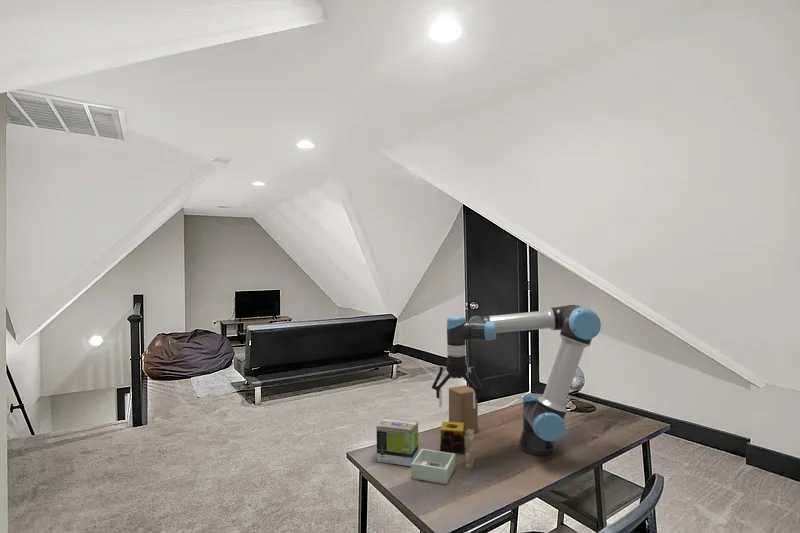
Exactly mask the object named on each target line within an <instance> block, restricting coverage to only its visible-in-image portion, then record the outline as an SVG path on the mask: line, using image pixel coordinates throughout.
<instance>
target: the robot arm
mask: <svg viewBox="0 0 800 533" xmlns="http://www.w3.org/2000/svg"><path fill="white" fill-rule="evenodd" d="M601 323H602V322H601V318H600V317H599V315H598V314H597V313H596V312H595V311H594V310H592V309H590V308H588V307H586V306H585V307H583V306H581V305H576V304H567V305H562V306H561V305H560V306H554V307H548V309H547V310H541V311H540V310H539V311H538V310H537V311H530V312H529V311H528V312H518V313H517V312H515V313H507V314H497V315H495V314H494V315H488V316H486V315H484V316H480V315H474V316H472V317H470V319H469V321H467V319H466V317H465V316H462V315H451V316H449V317H447V320H446V342H447V345H446V346H447V347H446V352H447V357H446V358H447V359H446V360H447V364H446V366H443V365H440V366H439V371H438V374H437V376H436V377H435V379H434V381H433V384H432V386H431V388H432V390H435V391H436V392H435V393H436V394H435V395H436V399H438V403H439V404H438V406H439V407H438V408H442V404H443V402H442V401H443V400H442V399H443V398H442V396H443V394H442V388H443V386H444V385H445V384H446V383H447V382H448V380H450V379H451V378H452V379H462V378H463V380H465V382H466V383H468V385H469V387H470V388H473V409H475V400H479V392H482V391H483V390H484V389H483V386H482V384H481V382H480V380H479V378H478V376H477V374H476V372H475V367H474V366H472V365H471V366H469V367H467V355H466V354H467V341H493V340H496V339H497V338H496V337H497V334H498V333H500V334H501V333H510V332H519V331H534V330H544V329H550V330H551V331H560V333H559V336H560V338H561V343H560V345H559V347H558V351H557V354H556V356H555V360H554V362H553V364H552V365H553V366H552V368H551V370H550V374H549V376H548V380H547V383H546V385H545V388H544V391H543V393H526V394H524V395H523V397H522V431H521V434H520V436H519V439H518V440H519V441H518V448H519V449H520V451H522V452H524V453H526V454H528V455H529V454H530V455H534V456H541V457H542V456H550V455H553V454H555V453H556V451H557V447H556V443H555V441H556V440H560V438H562V436H563V435H564V433H565V431H566V424H565V417H566V413H567V411H568V410H567V408H566V406H565V404H566V402H567V398H568V395H569V393H570V390H571V387H572V384H573V381H574V378H575V376H576V373H577V369H578V367H579V364H580V362H581V359H582V356H583V353H584V350H585V348H587V347H589V346H590V345H591V344H592V340H593V339H594V338H595V337H597V336H598V334H600V331H601V328H602V324H601ZM445 371H446V372H447V374H446V376H445V377H444V378H443V379H442V380H441V382H440V383H439V380H440V378H441V376H442V374H443V373H444V372H445ZM467 371H468V372H469V373H470V374H471V376H472V378H473V380H474V381H475V382H473V381H472V380H471V379H470V377H469V376H468V375H467ZM438 383H439V384H438ZM437 384H438V385H437ZM476 385H477V386H476Z"/></svg>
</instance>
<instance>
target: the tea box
mask: <svg viewBox="0 0 800 533" xmlns="http://www.w3.org/2000/svg"><path fill="white" fill-rule="evenodd" d="M418 454H419V422H418V421H413V420H406V419H405V420H404V419H395V418H384V419H382V420H381V421H380V422H379V423H378V424H377V425H376V461H377V462H380V463H386V464H394V465H399V466H406V467H411V463H412V462H413V460H414V459H415V458H416V456H417V455H418Z"/></svg>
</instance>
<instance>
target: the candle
mask: <svg viewBox="0 0 800 533" xmlns="http://www.w3.org/2000/svg"><path fill="white" fill-rule="evenodd" d="M439 429H440V430H439V431H440V442H439V443H440V445H439V449H440V450H439V451H441V452H447V453H454V454H455V455H456V454H457V455H465V451H466V435H464V423H459V422H449V421H441V427H440V428H439Z"/></svg>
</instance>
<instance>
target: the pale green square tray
mask: <svg viewBox="0 0 800 533" xmlns="http://www.w3.org/2000/svg"><path fill="white" fill-rule="evenodd" d="M455 469H456V454H454V453H447V452H441V451H440V450H432V449H427V448H421V449H420V451H418V455H417V456H416V458H415V459H414V460H413V462H412V463H411V466H410V475H411V476H410V478H411V479H412V480H418V481H419V480H420V481H425V482H429V483H435V484H440V485H448V483H449V481H450V478H452V477H451V476H452V475H453V473H454V471H455Z"/></svg>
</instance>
